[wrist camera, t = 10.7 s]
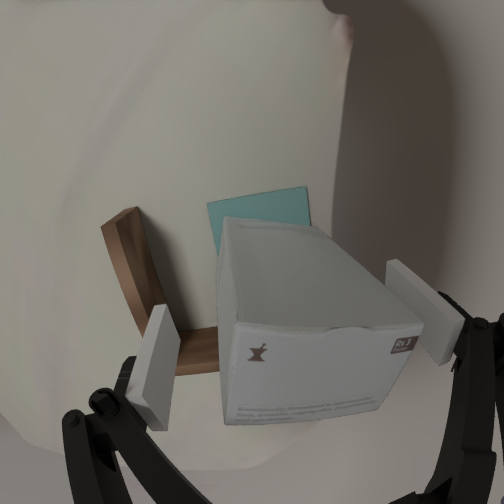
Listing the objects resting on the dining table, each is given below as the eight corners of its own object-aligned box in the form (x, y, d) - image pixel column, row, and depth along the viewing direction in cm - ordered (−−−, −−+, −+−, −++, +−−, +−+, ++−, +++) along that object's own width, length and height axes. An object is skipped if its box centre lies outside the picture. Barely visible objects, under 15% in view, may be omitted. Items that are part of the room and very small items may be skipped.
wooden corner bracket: (124, 209, 21) (100, 226, 17) (315, 173, 22) (338, 181, 17) (169, 342, 26) (162, 376, 22) (324, 315, 27) (341, 346, 22)
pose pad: (207, 203, 22) (206, 204, 21) (305, 186, 22) (306, 187, 22) (230, 308, 25) (230, 310, 25) (314, 292, 26) (315, 294, 25)
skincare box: (216, 278, 24) (211, 429, 10) (224, 209, 22) (222, 325, 8) (308, 286, 25) (377, 418, 11) (324, 223, 23) (433, 327, 9)
